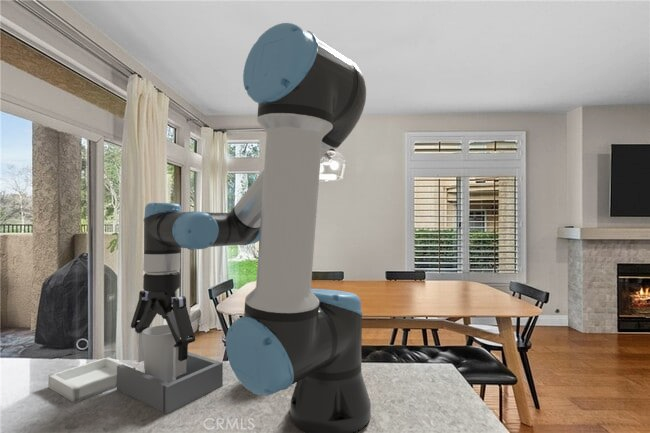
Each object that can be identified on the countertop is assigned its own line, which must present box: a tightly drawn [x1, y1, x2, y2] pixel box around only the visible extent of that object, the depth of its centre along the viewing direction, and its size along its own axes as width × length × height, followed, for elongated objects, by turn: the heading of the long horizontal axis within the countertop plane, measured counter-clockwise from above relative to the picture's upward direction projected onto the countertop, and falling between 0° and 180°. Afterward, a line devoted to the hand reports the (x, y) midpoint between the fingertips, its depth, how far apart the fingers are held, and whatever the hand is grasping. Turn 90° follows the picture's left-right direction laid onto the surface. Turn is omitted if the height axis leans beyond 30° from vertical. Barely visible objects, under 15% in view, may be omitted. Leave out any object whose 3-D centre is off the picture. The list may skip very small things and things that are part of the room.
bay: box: [116, 351, 224, 415], centre depth 76 cm, size 18×13×5 cm
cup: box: [142, 324, 178, 383], centre depth 78 cm, size 8×8×12 cm
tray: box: [47, 356, 137, 404], centre depth 78 cm, size 12×12×3 cm
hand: (160, 367), depth 78 cm, fingers open, 13 cm apart
